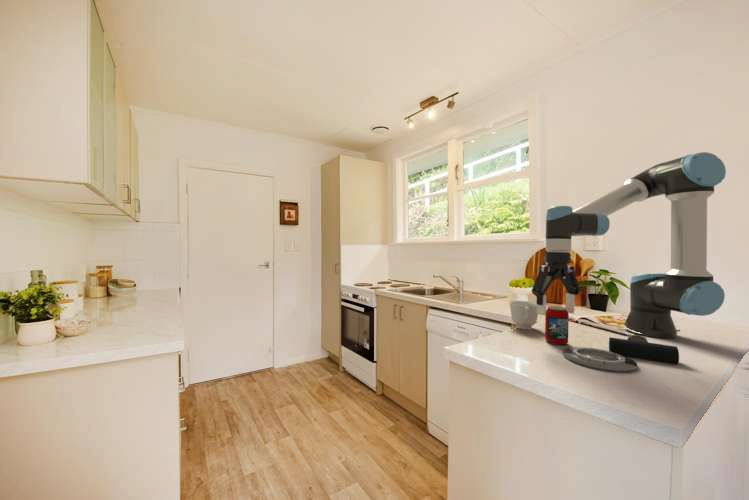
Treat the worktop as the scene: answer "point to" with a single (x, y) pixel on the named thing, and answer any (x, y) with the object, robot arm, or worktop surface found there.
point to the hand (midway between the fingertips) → (555, 313)
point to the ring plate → (600, 359)
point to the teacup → (523, 313)
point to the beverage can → (556, 325)
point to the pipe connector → (644, 349)
